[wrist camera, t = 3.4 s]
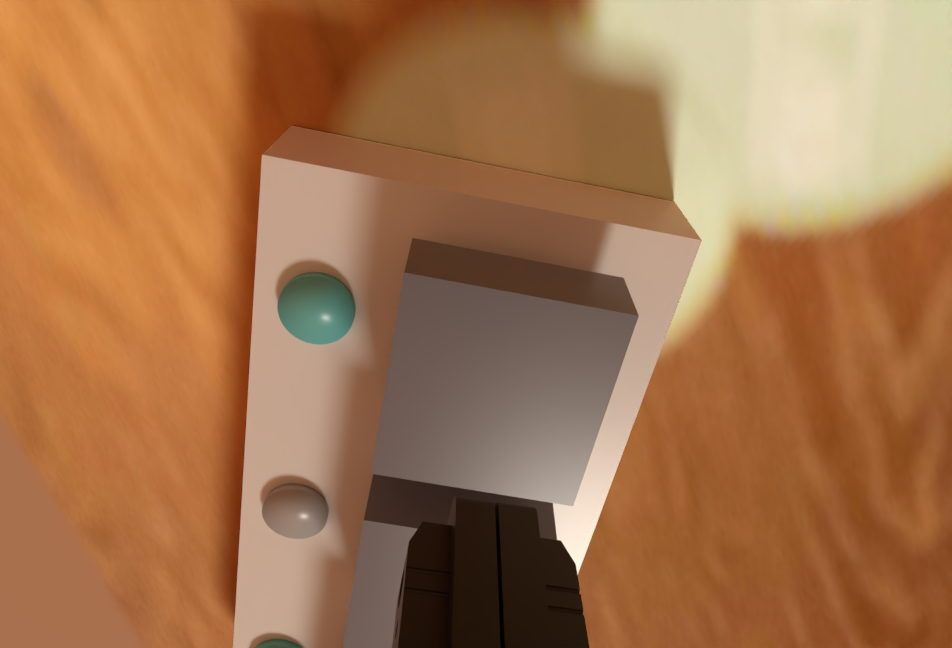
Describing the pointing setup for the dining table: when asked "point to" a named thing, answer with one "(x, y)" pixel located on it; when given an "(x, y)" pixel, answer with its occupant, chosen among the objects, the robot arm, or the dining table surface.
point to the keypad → (371, 336)
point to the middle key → (403, 548)
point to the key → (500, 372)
